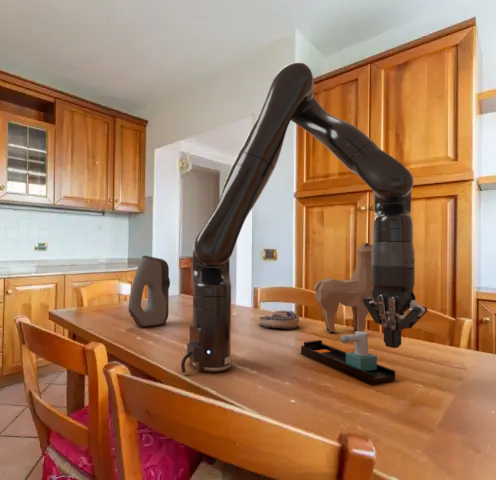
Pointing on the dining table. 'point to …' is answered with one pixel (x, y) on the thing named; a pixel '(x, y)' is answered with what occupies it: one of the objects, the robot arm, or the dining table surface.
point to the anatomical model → (280, 320)
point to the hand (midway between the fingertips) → (392, 346)
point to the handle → (360, 352)
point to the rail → (338, 362)
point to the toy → (348, 291)
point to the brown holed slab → (150, 292)
